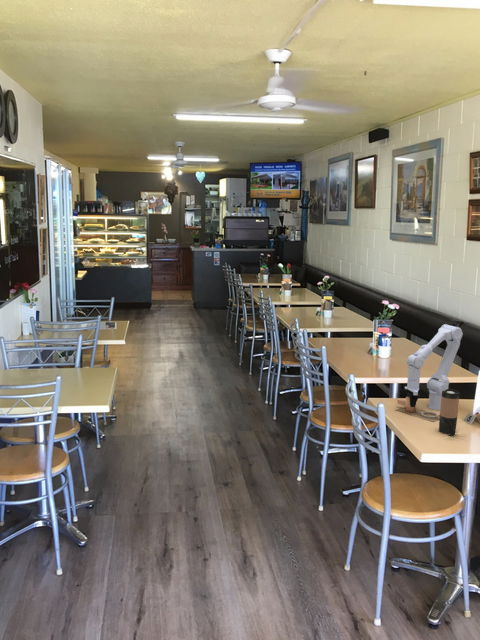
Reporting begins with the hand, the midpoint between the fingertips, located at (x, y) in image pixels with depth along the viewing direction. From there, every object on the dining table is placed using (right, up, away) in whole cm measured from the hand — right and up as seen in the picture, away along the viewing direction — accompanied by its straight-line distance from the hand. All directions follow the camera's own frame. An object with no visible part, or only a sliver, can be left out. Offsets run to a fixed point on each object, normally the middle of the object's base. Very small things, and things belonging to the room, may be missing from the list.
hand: (411, 405), depth 308 cm
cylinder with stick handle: (-2, -2, +2) cm, 4 cm away
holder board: (+3, -5, -3) cm, 7 cm away
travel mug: (+8, -9, -28) cm, 30 cm away
